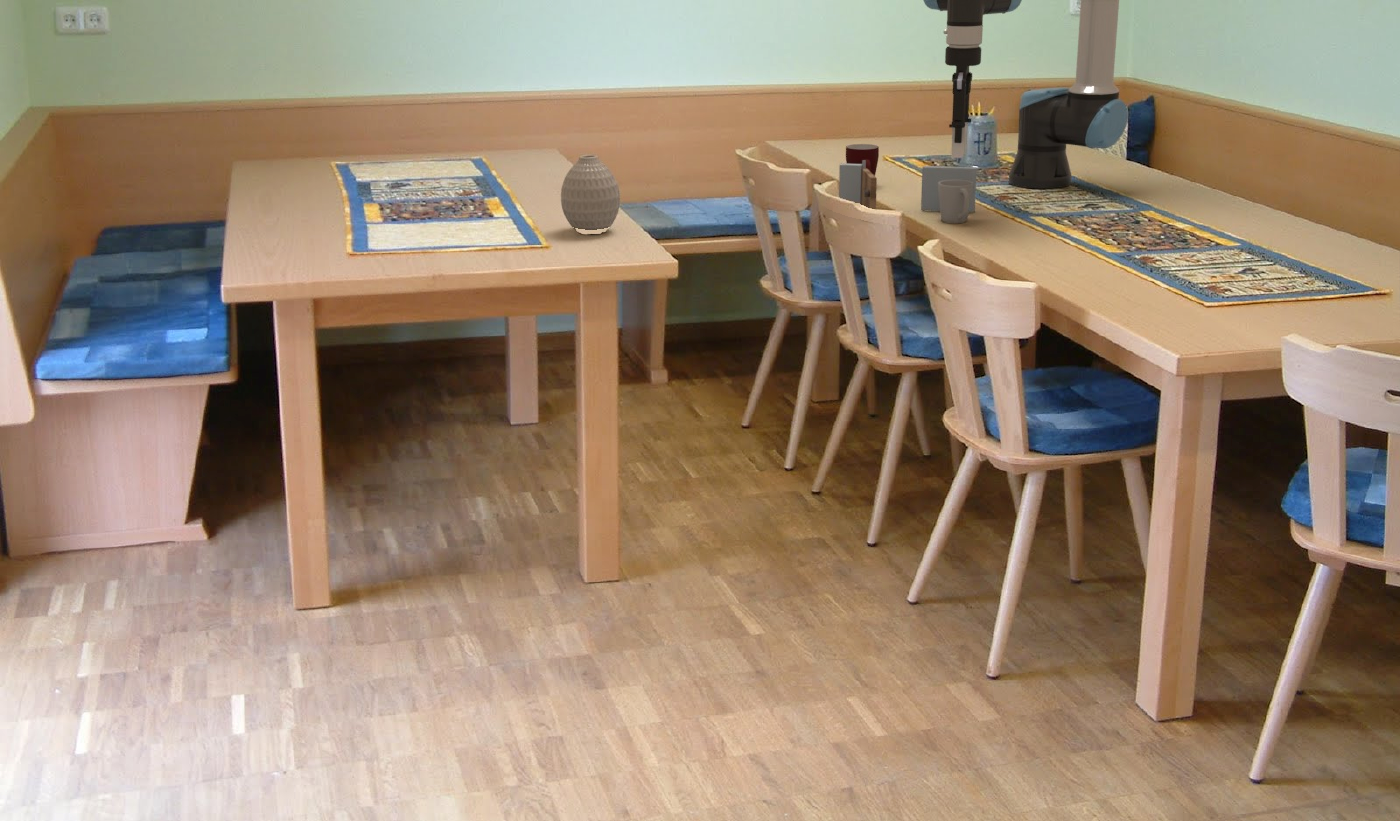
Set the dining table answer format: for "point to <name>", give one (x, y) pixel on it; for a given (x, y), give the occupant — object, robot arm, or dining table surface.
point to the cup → (954, 200)
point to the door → (868, 189)
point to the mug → (863, 155)
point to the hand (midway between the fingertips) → (958, 155)
